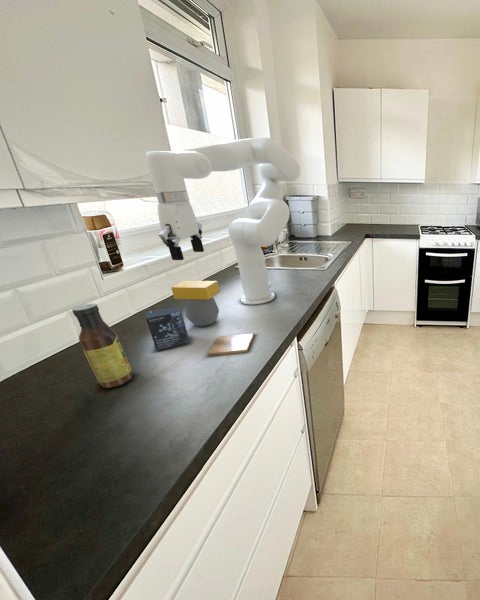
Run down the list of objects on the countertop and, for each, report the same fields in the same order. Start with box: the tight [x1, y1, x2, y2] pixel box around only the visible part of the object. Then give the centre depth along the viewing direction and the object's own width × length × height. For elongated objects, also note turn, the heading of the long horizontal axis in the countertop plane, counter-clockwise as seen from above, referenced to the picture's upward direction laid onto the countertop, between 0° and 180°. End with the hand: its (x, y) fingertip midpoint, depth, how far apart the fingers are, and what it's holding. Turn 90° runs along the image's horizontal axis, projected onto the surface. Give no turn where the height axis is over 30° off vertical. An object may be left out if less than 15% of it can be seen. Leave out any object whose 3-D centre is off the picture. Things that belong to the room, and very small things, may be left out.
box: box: [145, 305, 190, 352], centre depth 91 cm, size 8×6×11 cm
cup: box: [184, 296, 220, 327], centre depth 104 cm, size 10×9×10 cm
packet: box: [170, 280, 221, 300], centre depth 101 cm, size 6×11×4 cm, turn 88°
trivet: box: [207, 332, 255, 357], centre depth 92 cm, size 10×10×1 cm
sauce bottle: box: [71, 303, 133, 389], centre depth 72 cm, size 7×6×20 cm
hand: (189, 255), depth 97 cm, fingers open, 9 cm apart
